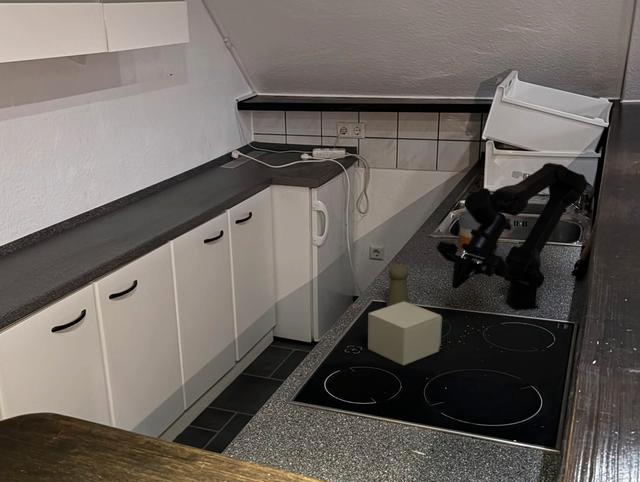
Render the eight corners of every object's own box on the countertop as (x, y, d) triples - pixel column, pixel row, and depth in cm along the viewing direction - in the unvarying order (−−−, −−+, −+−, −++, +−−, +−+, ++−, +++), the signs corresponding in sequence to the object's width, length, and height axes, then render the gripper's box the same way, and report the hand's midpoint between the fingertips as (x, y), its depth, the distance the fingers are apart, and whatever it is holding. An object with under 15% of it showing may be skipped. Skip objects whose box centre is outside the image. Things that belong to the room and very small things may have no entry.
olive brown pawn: (408, 309, 201) (409, 270, 197) (385, 308, 202) (386, 269, 198) (409, 301, 207) (410, 262, 203) (387, 300, 208) (388, 262, 204)
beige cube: (403, 336, 185) (404, 301, 182) (438, 351, 177) (440, 315, 173) (367, 349, 179) (368, 313, 176) (403, 365, 170) (404, 328, 167)
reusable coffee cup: (449, 265, 234) (452, 217, 228) (464, 254, 243) (467, 208, 238) (489, 271, 227) (493, 222, 222) (503, 259, 237) (507, 213, 231)
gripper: (532, 260, 183) (498, 314, 181) (471, 243, 197) (439, 293, 195) (514, 235, 176) (479, 291, 174) (452, 219, 190) (419, 271, 188)
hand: (453, 287), depth 183 cm, fingers closed
